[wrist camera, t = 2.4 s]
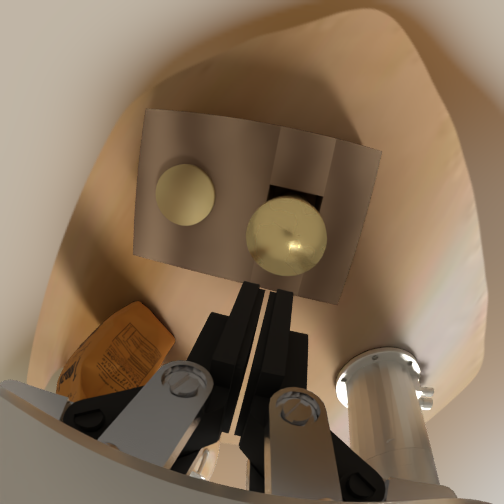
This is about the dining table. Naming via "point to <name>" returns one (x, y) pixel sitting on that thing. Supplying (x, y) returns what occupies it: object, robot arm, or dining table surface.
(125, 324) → the coffee package
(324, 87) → the dining table surface
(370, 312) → the dining table surface
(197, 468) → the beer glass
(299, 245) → the brass peg
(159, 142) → the walnut block
